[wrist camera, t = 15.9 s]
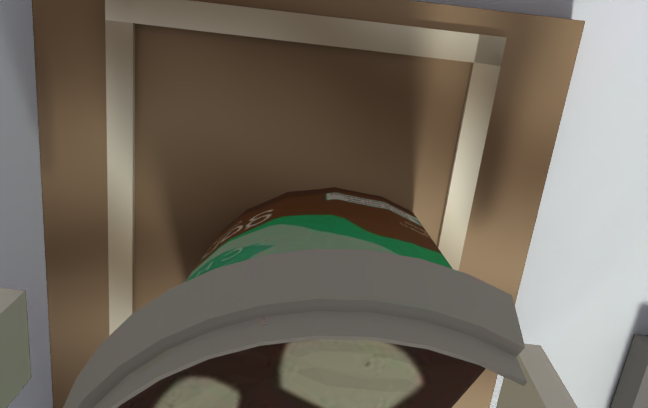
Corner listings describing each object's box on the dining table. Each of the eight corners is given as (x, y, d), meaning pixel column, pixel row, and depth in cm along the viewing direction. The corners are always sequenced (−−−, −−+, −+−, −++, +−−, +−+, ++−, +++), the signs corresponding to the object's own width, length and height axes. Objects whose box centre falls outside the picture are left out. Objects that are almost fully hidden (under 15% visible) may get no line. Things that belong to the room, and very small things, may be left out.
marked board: (456, 499, 24) (462, 524, 23) (68, 459, 24) (54, 483, 23) (571, 19, 18) (587, 20, 17) (46, -42, 18) (25, -45, 16)
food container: (273, 68, 17) (199, 149, 8) (440, 174, 18) (550, 359, 9) (98, 362, 21) (-94, 658, 12) (247, 438, 22) (180, 768, 13)
